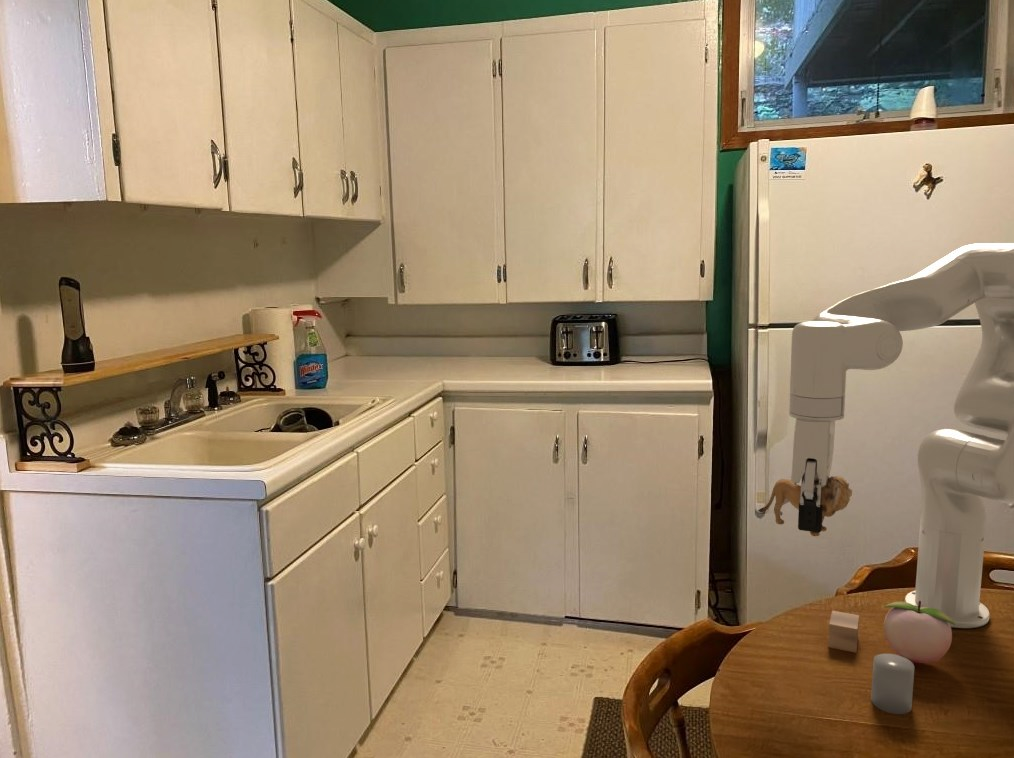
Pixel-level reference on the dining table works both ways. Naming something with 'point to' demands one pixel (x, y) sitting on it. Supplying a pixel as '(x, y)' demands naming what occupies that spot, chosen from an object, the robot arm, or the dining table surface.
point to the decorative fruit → (917, 632)
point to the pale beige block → (843, 631)
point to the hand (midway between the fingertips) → (812, 521)
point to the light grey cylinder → (892, 683)
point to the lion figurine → (831, 497)
